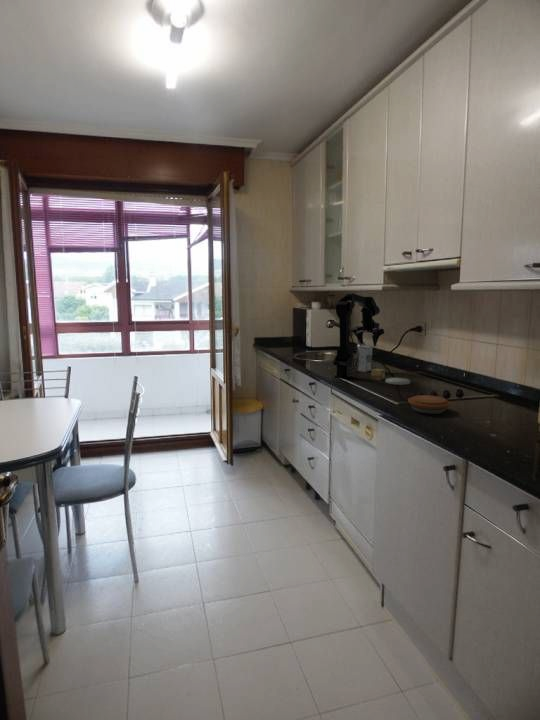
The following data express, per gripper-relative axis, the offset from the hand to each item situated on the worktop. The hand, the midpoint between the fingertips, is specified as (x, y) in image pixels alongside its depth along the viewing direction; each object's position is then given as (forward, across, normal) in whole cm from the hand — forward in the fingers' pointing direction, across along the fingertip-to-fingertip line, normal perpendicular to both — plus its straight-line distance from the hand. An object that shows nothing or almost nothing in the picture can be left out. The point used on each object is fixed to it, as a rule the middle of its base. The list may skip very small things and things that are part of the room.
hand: (368, 345), depth 258 cm
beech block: (+11, -21, +20) cm, 31 cm away
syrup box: (+14, -2, +7) cm, 15 cm away
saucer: (+10, -33, +20) cm, 40 cm away
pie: (+4, -71, +56) cm, 90 cm away
